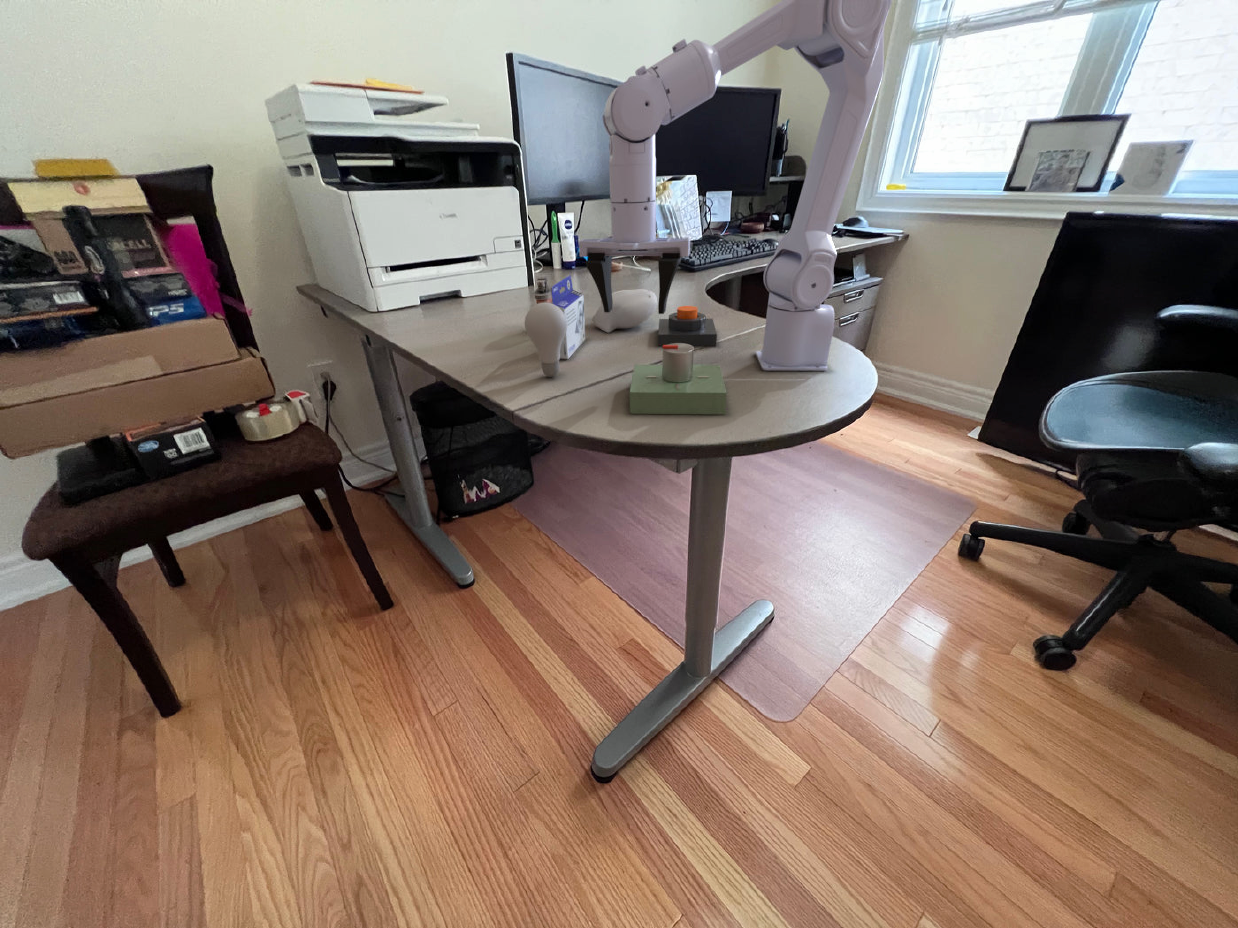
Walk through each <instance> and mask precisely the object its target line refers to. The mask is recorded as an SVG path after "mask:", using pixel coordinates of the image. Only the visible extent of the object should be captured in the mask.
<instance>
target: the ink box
mask: <svg viewBox="0 0 1238 928" xmlns="http://www.w3.org/2000/svg"><path fill="white" fill-rule="evenodd" d="M562 288H563V289H564V290H563V291H562V292H560V291H561V290H562ZM551 297H552V304H554V305H556V306H557V307H559V308H560V309H561V310H562V312H563V313H564V315H565V317H566V320H567V331H566V333H565V336H564V339H563V341H562V343H561V347H560V359H559V360H569V359H570V358H571V356H572V355H573V354H574V353H575V352H576V351H577V349H579V347H580V346H581V345H582V344H583V343H584V341H585V340H586V327H585V325H586V324H585V300H584V297H585V296H584V293H582V292H579V291H576V290H574V288H573V282H572V275H571V274H569V275H567V276H566V277H564V278H563V279H561V280H560V281H558V282H556V283H555V284H554V285H551Z"/></svg>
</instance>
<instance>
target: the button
mask: <svg viewBox="0 0 1238 928" xmlns="http://www.w3.org/2000/svg"><path fill="white" fill-rule="evenodd" d="M698 310H699V309H698V307H697V306H693V305H681V306H678V307H676V312H677V318H679V319H695V318H697V312H698Z"/></svg>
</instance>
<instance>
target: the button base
mask: <svg viewBox="0 0 1238 928" xmlns="http://www.w3.org/2000/svg"><path fill="white" fill-rule="evenodd" d="M706 316H707V315H706V314H705V313H701V312H698V311H697V318H695V319H679V318H677V311H676V312H673V313H670V314H669V315H668V318H659V321H658V333H657V338H658V339H657V347H658V348H659V347H661V348H663V345H668V344H672V343H684V344H689V345H691V346H693V347H694V348H695V347H717V340H718V333H717V328H716V326H715V322H714V318H707V317H706Z"/></svg>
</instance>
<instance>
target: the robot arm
mask: <svg viewBox="0 0 1238 928" xmlns="http://www.w3.org/2000/svg"><path fill="white" fill-rule="evenodd" d="M891 6H892V0H780V1H778V2H777V3H776V4H774V5H772V6H771V7H769V8H768V9H766V10H765V11H763V12H761V13H760V14H758V15H757V16H756V17H754V18H753V19H750V20H749V21H748V22H746V23H744V24H743V25H742V26H740V27H739V28H737V29H735V30H734V31H732V32H731V33H729V34H728V35H726V36H725V37H723V38H722V39H720V40H719V41H717V42H715V43H714V44H711V45H710V44H708V43H706V42H703V41H702V40H699V39H693V40H692V41H690V42H687V39H686V38H683V39H681V40H679V41H678V42H676V43H675V44H674V45H673V46H672V47H671V49H672V53H671V54H669V55H667V56H666V57H664V58H663V59H660V60H659V61H657V62H656V63H654V64H652V65H651V66H650V67H648V68H646V65H642V66H640V67H638V68H637V69H636V70H635V73H634V74H635V75H631V76H629V77H628V78H627V79H626V81H624V82H622V83H621V84H619V85H618V86H617V87H616V88H615V89H614V90H613V91H612V92H611V93H610V94H609V96H608V98H607V99H606V102H605V106H604V111H603V112H604V113H603V115H602V123H603V126H604V129H605V131H606V133H607V135H608V137H609V138H608V139H609V142H608V150H609V159H608V171H609V172H608V174H609V176H608V177H609V196H610V199H609V200H610V222H611V223H610V225H611V237H607V238H584V239H583V238H582V239H580V240H579V241H578V252H579V254H578V255H579V258H581V257H582V258H583V257H584V258H585V257H587V260H586V261H585V266H586V269H587V270H588V272H589V274H590V275H591V277H592V280H593V281H594V283H595V285H596V289H597V290H598V294H599V296H600V297H599V298H600V299H601V300H602V303H603V307H604V312H606V313H609V312H610V311H611V310H612V306H613V300H612V293H613V288H612V265H613V257H660V258H659V259H658V261H657V265H658V282H659V283H658V284H659V288H658V289H659V290H658V292H659V293H658V303H657V307H658V308H657V309H658V315H664V314H665V312H666V310H667V302H668V297H669V294H670V290H671V287H672V284H673V281H674V279H675V278H674V277H675V275H676V273H677V272H678V271H677V270H678V268H679V266H680V264H681V262H682V259H683V258H687V257H690V254H691V238H681V237H679V238H677V237H657V236H656V235H657V231H656V230H657V228H656V227H657V224H656V223H657V158H656V133H658V130H659V129H660V127H661V125H662V126H667V125H669V124H670V123H672V122H674V121H675V120H677V119H678V118H680V117H681V116H684V115H685V114H687V113H688V112H691V110H693V109H695V108H697V107H699V106H700V105H702V104H704V103H705V102H707V101H708V100H710V99H712V98H713V97H714V95H715V94H716V91H717V88H718V85H719V82H720V79H721V78H722V77H723V76H724V75H726V74H728V73H730V72H732V71H733V70H735V69H737V68H738V67H741V66H742V65H743V64H746V63H747V62H749V61H751V60H753V59H754V58H757V57H758V56H760V55H761V54H763V53H766V51H769V50H770V49H772V48H774V47H776V46H777V47H779V48H780V49H782V50H784V51H789V50H791V49H794V50H795V52H796V53H797V54H798V55H799V56H800V58H802V60H804V61H805V62H807V64H809V65H810V66H811V67H812V68H813V69H814V70H815V71H817V73H819V75H820V76H821V78H822V79H823V82H824V83H825V85H826V87H827V89H828V91H829V94H828V97H827V101H826V105H825V109H824V112H823V115H822V118H821V122H820V126H819V129H818V132H817V136H816V140H815V143H814V147H813V150H812V153H811V157H810V160H809V164H808V168H807V170H806V175H805V177H804V182H803V184H802V188H801V192H800V195H799V198H798V202H797V206H796V209H795V211H794V216H793V219H792V223H791V226H790V229H789V230H788V231H787V233H786V234H784V235H783V236H782V238H781V239H780V240H779V241H778V242H777V247H776V250H775V252H774V254H773V256H772V257H771V259H769V261H768V263H767V264H766V266H765V268H764V272H763V284H764V287H765V289H766V290H767V292H768V293H769V294H768V302H767V308H766V316H765V324H764V325H765V326H764V333H763V341H762V350H756V351H755V356H756V358H757V360H758V363H759V365H760V367H761V370H763V371H768V372H769V371H770V372H773V371H775V372H776V371H777V372H778V371H782V372H783V371H784V372H785V371H787V372H788V371H790V372H792V371H793V372H794V371H798V372H799V371H803V372H804V371H805V372H806V371H807V372H809V371H810V372H812V371H821V372H823V371H824V372H826V371H828V369H829V368H828V361H829V354H830V349H831V345H832V340H833V339H832V338H833V336H834V329H835V310H834V307H833V305H831V304H822V303H824V302H825V301H826V300H827V299H828V297H829V296H830V294H831V292H832V290H833V288H834V283H835V274H834V267H835V264H836V263H835V262H836V259H837V257H838V254H837V250H836V247H835V245H834V242H833V239H832V234H833V230H834V227H835V225H836V221H837V218H838V215H839V212H840V209H841V205H842V203H843V200H844V197H845V194H846V190H847V187H848V185H849V181H850V178H851V175H852V172H853V169H854V166H855V163H856V160H857V157H858V153H859V151H860V147H861V144H862V141H863V139H864V136H865V132H866V130H867V126H868V123H869V121H870V117H871V114H872V111H873V107H874V105H875V102H876V99H877V95H878V93H879V89H880V86H881V83H882V80H883V75H884V63H885V61H884V59H885V58H884V52H885V51H884V49H885V48H884V47H885V46H884V41H885V40H884V39H885V38H884V37H885V36H884V33H885V29H884V28H885V25H886V21H887V18H888V15H889V13H890V9H891ZM601 300H600V301H601Z"/></svg>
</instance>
